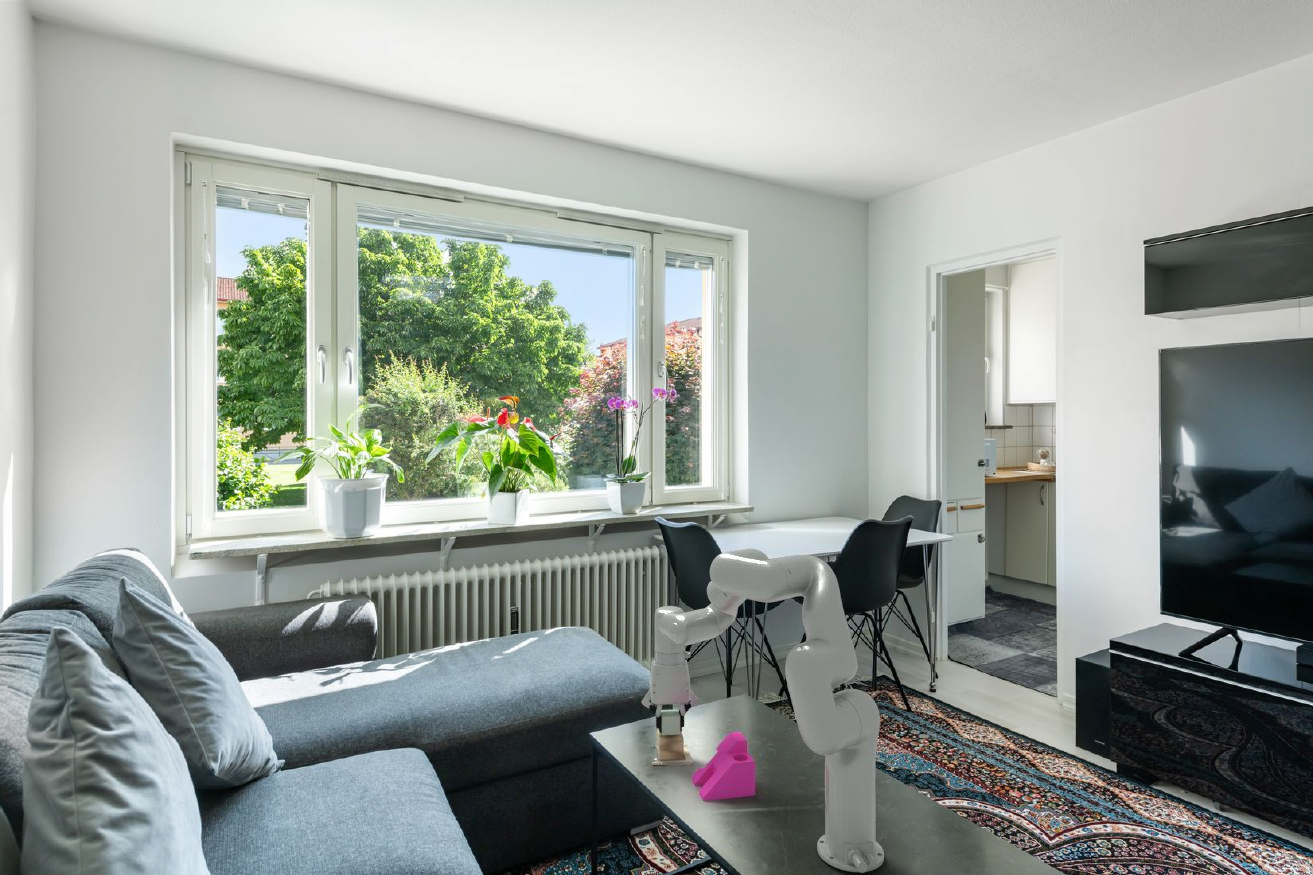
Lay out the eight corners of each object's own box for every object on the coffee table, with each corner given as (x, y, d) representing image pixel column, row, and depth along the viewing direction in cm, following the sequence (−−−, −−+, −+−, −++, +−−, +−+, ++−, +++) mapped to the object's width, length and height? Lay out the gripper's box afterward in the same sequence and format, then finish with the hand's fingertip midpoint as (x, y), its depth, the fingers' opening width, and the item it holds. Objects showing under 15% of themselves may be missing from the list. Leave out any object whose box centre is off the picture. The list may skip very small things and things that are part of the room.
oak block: (680, 748, 183) (680, 728, 183) (683, 758, 177) (683, 738, 177) (657, 749, 182) (657, 729, 182) (659, 759, 176) (659, 739, 176)
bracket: (740, 774, 171) (740, 731, 171) (755, 795, 161) (754, 749, 161) (691, 779, 169) (691, 736, 169) (703, 801, 158) (703, 754, 159)
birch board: (692, 766, 175) (692, 761, 175) (652, 768, 174) (652, 763, 174) (686, 748, 185) (686, 744, 185) (648, 750, 184) (648, 746, 184)
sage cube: (680, 734, 178) (680, 716, 178) (662, 735, 177) (662, 716, 177) (677, 727, 182) (677, 709, 182) (660, 727, 182) (660, 710, 182)
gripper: (700, 651, 184) (700, 722, 184) (635, 653, 183) (635, 725, 183) (705, 660, 177) (705, 734, 177) (637, 662, 175) (637, 738, 175)
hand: (670, 729), depth 180 cm, fingers closed on sage cube, 4 cm apart
